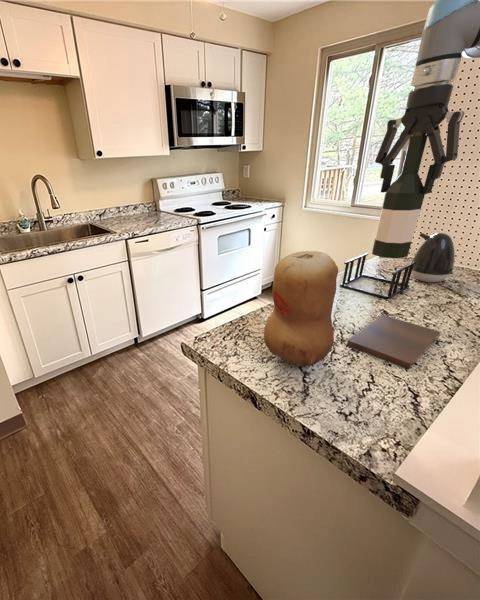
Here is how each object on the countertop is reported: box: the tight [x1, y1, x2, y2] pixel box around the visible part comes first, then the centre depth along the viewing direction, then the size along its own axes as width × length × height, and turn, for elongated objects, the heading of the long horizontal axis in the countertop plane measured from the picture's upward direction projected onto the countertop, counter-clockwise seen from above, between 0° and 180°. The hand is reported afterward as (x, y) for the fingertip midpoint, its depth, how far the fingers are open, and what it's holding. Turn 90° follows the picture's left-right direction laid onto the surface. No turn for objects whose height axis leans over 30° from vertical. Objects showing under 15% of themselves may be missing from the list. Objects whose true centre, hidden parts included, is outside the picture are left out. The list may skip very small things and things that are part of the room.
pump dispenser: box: [410, 232, 456, 283], centre depth 97 cm, size 10×10×15 cm
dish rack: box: [339, 252, 416, 300], centre depth 98 cm, size 14×14×8 cm
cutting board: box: [346, 314, 442, 370], centre depth 72 cm, size 18×12×2 cm, turn 125°
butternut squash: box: [263, 250, 339, 367], centre depth 65 cm, size 14×13×25 cm
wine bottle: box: [371, 132, 428, 259], centre depth 79 cm, size 8×8×30 cm
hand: (404, 192), depth 79 cm, fingers closed on wine bottle, 8 cm apart
